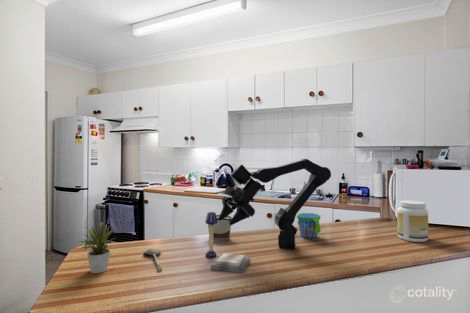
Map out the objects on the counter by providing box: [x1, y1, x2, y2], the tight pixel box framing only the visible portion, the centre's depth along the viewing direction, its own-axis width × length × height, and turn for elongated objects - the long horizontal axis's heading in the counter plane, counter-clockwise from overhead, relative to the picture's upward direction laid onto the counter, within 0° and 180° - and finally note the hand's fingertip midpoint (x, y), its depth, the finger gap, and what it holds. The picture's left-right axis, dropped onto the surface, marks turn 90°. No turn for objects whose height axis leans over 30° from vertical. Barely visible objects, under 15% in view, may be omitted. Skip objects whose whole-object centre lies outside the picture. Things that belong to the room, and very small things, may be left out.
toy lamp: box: [205, 211, 218, 259], centre depth 113 cm, size 5×5×17 cm
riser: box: [210, 252, 251, 274], centre depth 104 cm, size 11×11×2 cm
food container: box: [207, 214, 233, 240], centre depth 139 cm, size 12×6×10 cm, turn 84°
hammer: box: [143, 248, 163, 272], centre depth 109 cm, size 22×3×7 cm
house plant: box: [77, 221, 116, 274], centre depth 100 cm, size 14×14×16 cm
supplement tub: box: [396, 199, 429, 243], centre depth 135 cm, size 12×12×17 cm
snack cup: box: [296, 212, 322, 239], centre depth 139 cm, size 16×10×10 cm
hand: (224, 222), depth 116 cm, fingers open, 9 cm apart
